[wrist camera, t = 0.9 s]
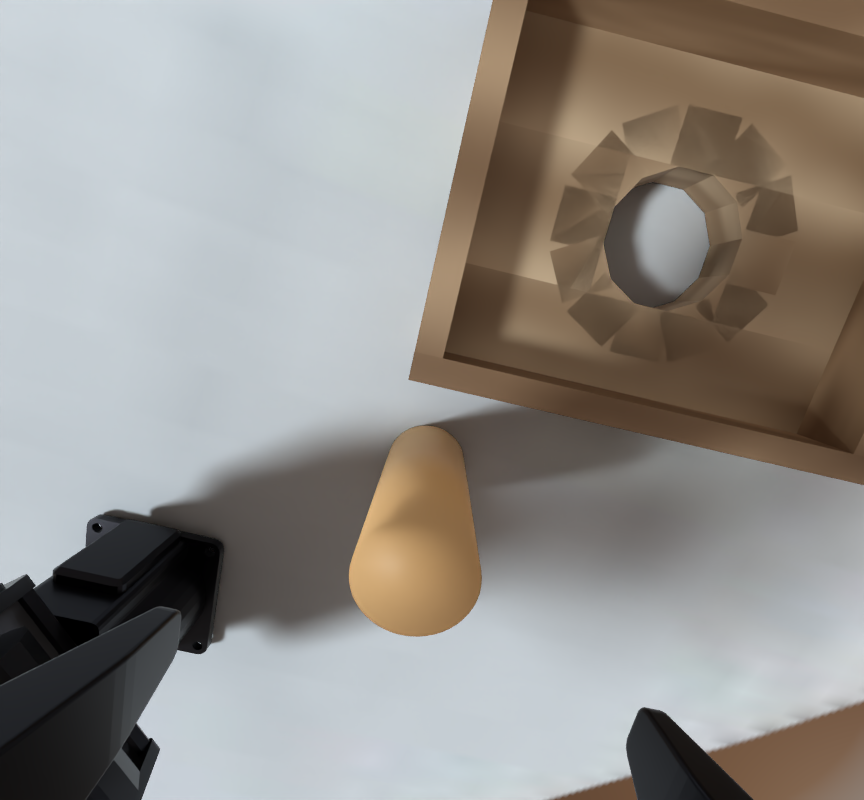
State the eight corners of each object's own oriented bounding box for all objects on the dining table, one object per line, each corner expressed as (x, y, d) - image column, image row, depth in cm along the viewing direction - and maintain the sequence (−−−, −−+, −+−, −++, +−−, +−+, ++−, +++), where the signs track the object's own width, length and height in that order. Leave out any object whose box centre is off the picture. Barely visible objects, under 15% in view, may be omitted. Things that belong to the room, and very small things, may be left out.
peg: (453, 504, 21) (463, 648, 12) (381, 488, 21) (338, 621, 12) (472, 434, 20) (496, 534, 11) (396, 417, 20) (362, 504, 11)
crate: (773, 446, 20) (868, 485, 16) (415, 363, 19) (408, 379, 15) (913, 116, 17) (1078, 50, 13) (495, 8, 16) (515, -100, 12)
